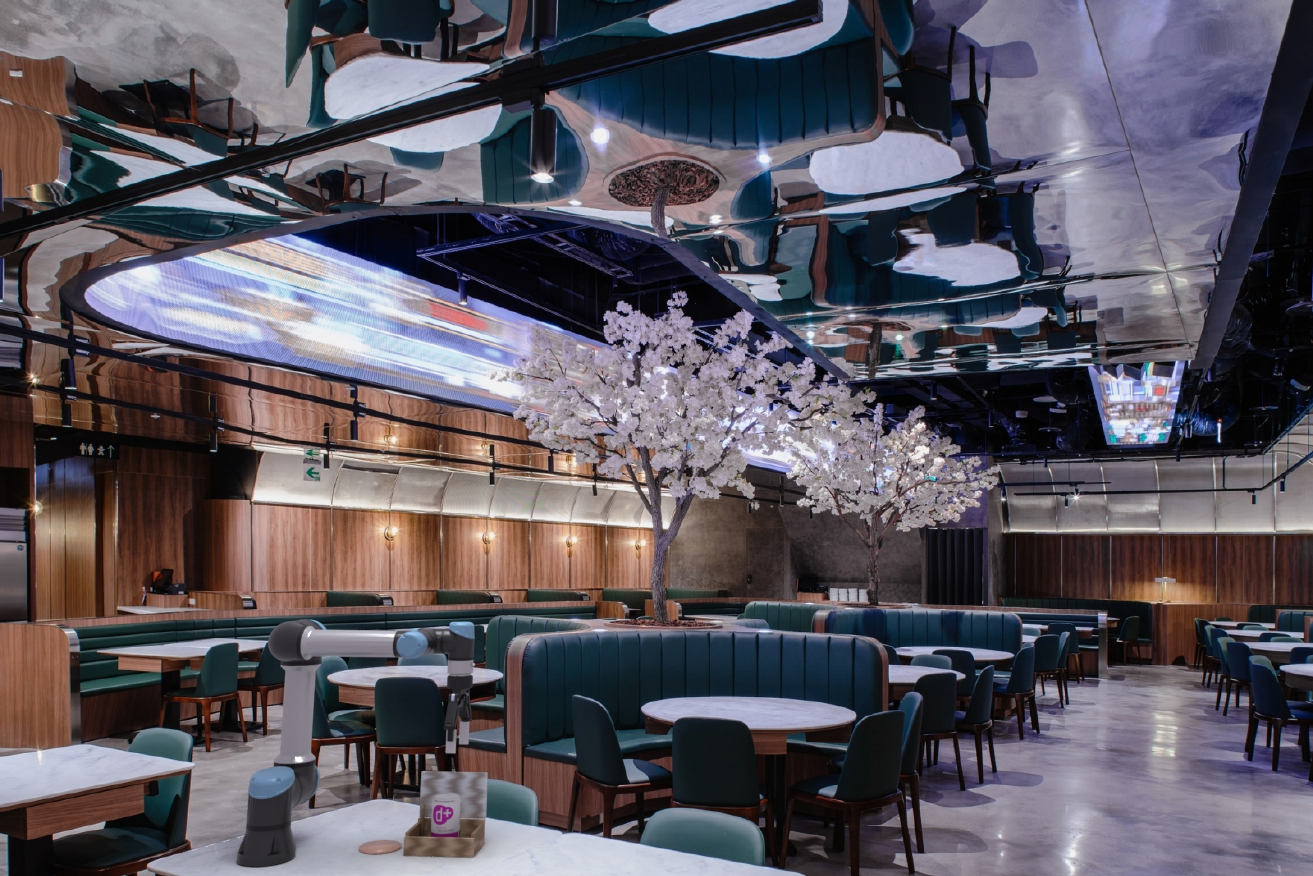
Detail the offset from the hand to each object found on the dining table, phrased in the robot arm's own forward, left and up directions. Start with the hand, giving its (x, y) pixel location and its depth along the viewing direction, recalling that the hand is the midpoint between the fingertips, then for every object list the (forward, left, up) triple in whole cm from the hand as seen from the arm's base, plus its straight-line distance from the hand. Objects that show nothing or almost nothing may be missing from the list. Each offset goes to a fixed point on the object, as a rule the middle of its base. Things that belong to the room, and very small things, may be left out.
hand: (457, 748), depth 263 cm
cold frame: (-2, -1, -28) cm, 28 cm away
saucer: (-21, -1, -28) cm, 35 cm away
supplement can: (-2, -1, -28) cm, 28 cm away
